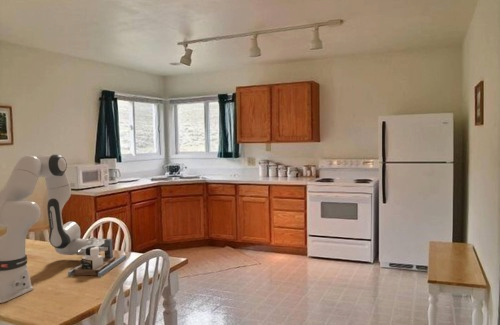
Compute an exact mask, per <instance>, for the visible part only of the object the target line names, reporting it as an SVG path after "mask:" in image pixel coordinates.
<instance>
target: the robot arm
mask: <svg viewBox="0 0 500 325" xmlns="http://www.w3.org/2000/svg"><path fill="white" fill-rule="evenodd" d="M67 168H68V166H67V161H66V159H65V157H63V155H60V154H44V155H30V154H26V155H23V156H22V157H21V158H20V159H19V160H18V161H17V163H15V166H14V167H13V169H12V171H11V173H10V175H9V177H8V179H7V181H6V183H5V185H4V186H3V187H2V189H1V190H0V227H6V228H7V229H6V232H5V233H4V234H3V235H1V236H0V304H1V303H2V304H3V303H5V302H8V301H11V300H12V299H15V298H17V297H20V296H21V295H23V294H27V293H29V292H31V291H33V290H34V286H33V285H32V281H31V277H30V276H31V275H30V270H29V269H28V266H27V264H28V256H27V254H26V240H27V235H28V233H29V231H30V229H31V228H32V227H33V225H36V224H37V223H38V221H39V220H40V218H41V216H42V214H41V213H42V210H41V207H40V205H39V204H38V203H37V202H35V201H30V200H26V199H28V198H30V196H32V195H33V192H34V190H35V188H36V185H37V183H38V181H39V178H45V186H46V192H47V200H48V201H47V205H46V207H47V208H46V209H47V217H48V226H49V234H48V235H49V236H48V240H49V243H50V245H51V246H52V247H53V248H54V251H55V252H56V253H57V254H60V255H64V256H74V255H76V256H84V257H87V256H86V248H88V247H91V246H96V247H98V248H99V253H100V252H105V251H107V250H109V247H105V244H104V240H105V239H106V238H97V237H90V238H81V235H82V234H81V233H82V232H81V231H82V230H81V227H80V224H78V223H77V222H76V221H73V220H71V221H67V222H66V223H63V216H62V214H63V209H64V206H65V205H66V203H67V202H68V201H69V199H70V197H71V195H72V187H71V183H70V179H69V177H68V174H67V171H66V170H67Z"/></svg>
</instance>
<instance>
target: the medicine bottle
mask: <svg viewBox="0 0 500 325" xmlns="http://www.w3.org/2000/svg"><path fill="white" fill-rule="evenodd" d="M99 254H100V252H99V248H98V247H96V246H91V247H88V248H86V256H84V257H81V264H82V269H98V268H99V267H101V266H102V265H103V258H104V255H101V254H100V255H99Z"/></svg>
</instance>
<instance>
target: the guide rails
mask: <svg viewBox="0 0 500 325" xmlns="http://www.w3.org/2000/svg"><path fill="white" fill-rule="evenodd" d="M99 255H100V256H101V254H100V253H99ZM124 259H125V260H126V259H127V255H126V254H123V255H122V256H120V257H119V258H118V259H115V260H113V261H112V262H111V263H110V265H109V266H107V267H106V268H104V269H103V270H101V271H100V272H98V275H97V278H101V277H102V276H103V277H104V275H106V274H107V273H109V271H111V270H112V269H114V268H115V267H116V265H117V266H118V265H119V264H121V263H122V262H124V261H125V260H124ZM123 260H124V261H123ZM120 262H121V263H120ZM80 265H82V263H81V264H79V265H77V266H75V267H74V268H72V269H71V270H69V271H67V274H68V275H67V277H72V276H73V269H75V268H77V267H78V266H80Z"/></svg>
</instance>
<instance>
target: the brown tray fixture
mask: <svg viewBox="0 0 500 325" xmlns="http://www.w3.org/2000/svg"><path fill="white" fill-rule="evenodd" d="M104 239H105V240H104V244H105V247H109V250H107V251H104V256H103V265H102V266H101V267H99V268H98V269H82V265H81V264H79V265H80V266H79V265H77V266H78V267H77V266H76V267H77V268H76V267H74V268H75V269H74V268H72V269H73V275H78V276H79V275H80V276H98V272H100V271H101V270H103V269H104V268H106V267H107V266H109V265H110V264H111V263H113V262H114V261H116V260H117V259H116V258H117V257H116V256H114V253H113V251H114V250H113V238H104ZM73 275H72V276H73Z"/></svg>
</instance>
